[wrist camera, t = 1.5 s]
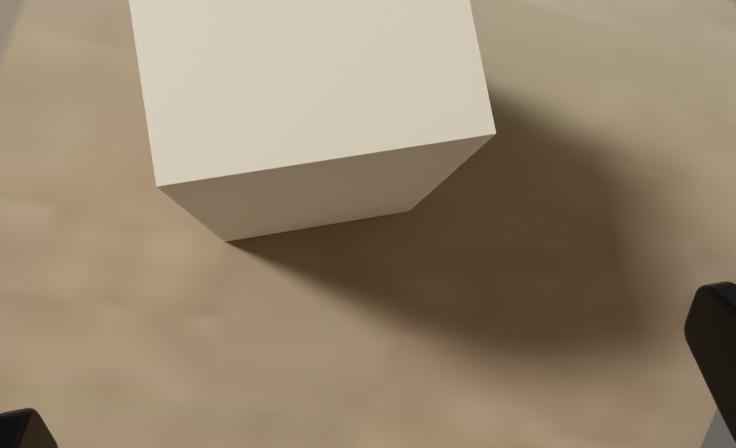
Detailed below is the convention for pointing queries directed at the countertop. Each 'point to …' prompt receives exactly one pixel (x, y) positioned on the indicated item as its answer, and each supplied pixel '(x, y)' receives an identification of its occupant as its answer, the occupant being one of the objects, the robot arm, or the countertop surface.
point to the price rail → (718, 434)
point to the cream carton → (307, 106)
